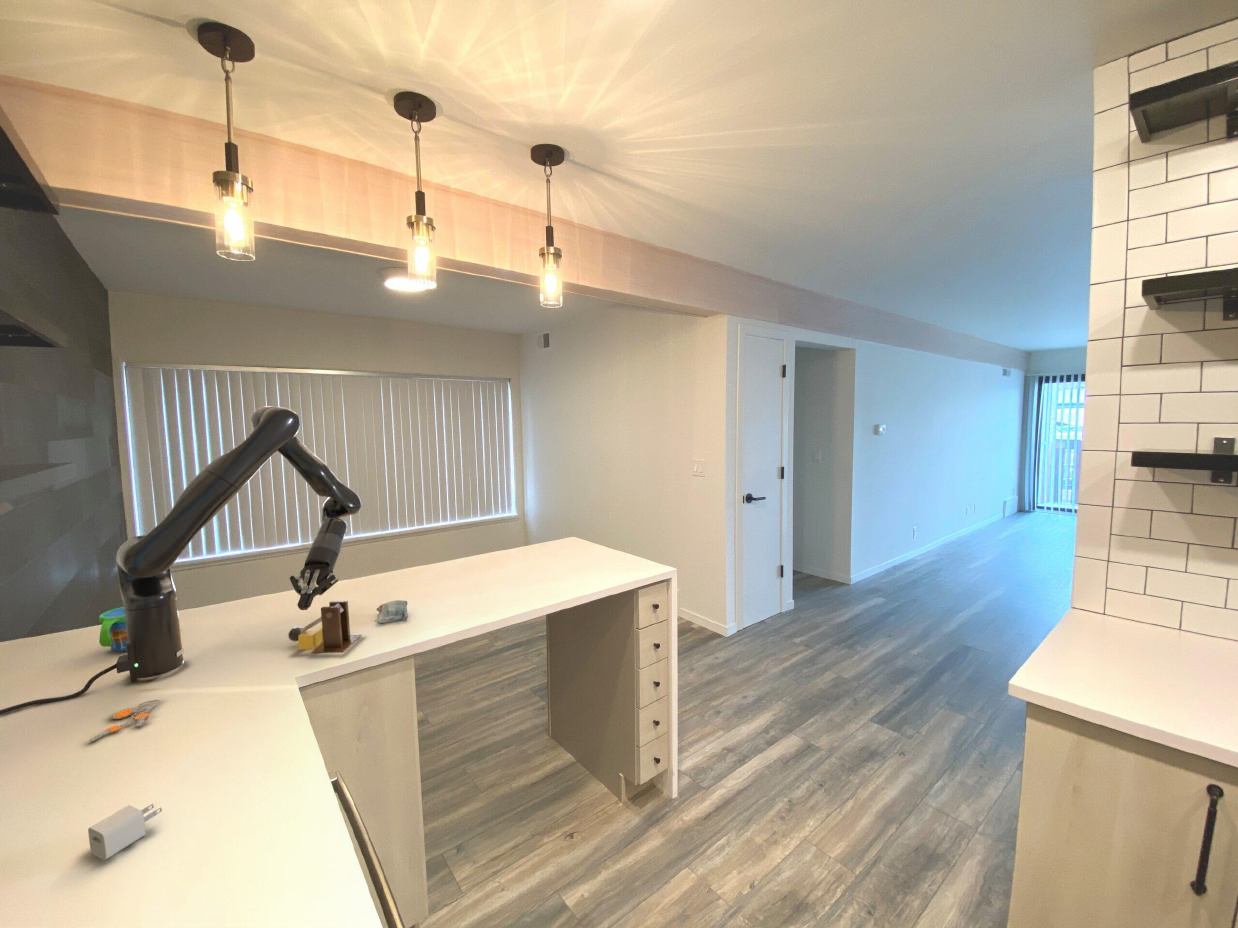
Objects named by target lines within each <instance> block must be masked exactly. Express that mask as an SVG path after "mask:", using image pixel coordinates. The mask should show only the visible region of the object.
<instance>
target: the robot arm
mask: <svg viewBox="0 0 1238 928" xmlns="http://www.w3.org/2000/svg"><path fill="white" fill-rule="evenodd" d="M250 423H251V427H252V429H253V431H252V432H251V433H250V434H249V435H248V436H247V437H246V439H245V440H244V441H242V442H241V443H239V444H238V445H236V446H235V447H234V448H232V449H229V451H226V452H225V453H223V454H222V455H220V456H219V457H217V458H215V459H214V460H213V461H211V462H210V463H209V464H207V465H206V466H205V467H204V468H203V469H202V470H201V471H200V472H199V473H198V474H197V475H196V476H195V477H194V478H193V479H192V480H191V481H190V482H189V483H188V484H187V486H186V487H185V488H184V489H183V491H182V492H181V494H180V495H179V496H178V499H177V500H176V502H175V503H174V505H173V507H172V508H171V510H170V511H169V513H168V514H167V515H166V516H165V517H164V518H163V520H161V522H159V523H158V524H157V525H156V526H154V528H153V529H152V530H150V531H149V532H148V533H146V534H145V535H137V536H133V537H131V538H129V539H128V540H127V539H126V541H124V543H122V544H121V545H120V547H119V548H118V550H117V552H116V556H115V557H116V558H115V562H116V569H117V576H118V584H119V592H120V596H121V600H122V604H123V607H124V613H125V621H126V630H127V638H128V641H127V644H126V646H127V651H126V653H127V654H121V655H118V658H117V660H116V663H115V664H112V665H111V666H109V667H107V668H104V669H102V670H101V671H99V672H98V673H96V674H95V675H94V676H92V677H91V678H90V679H89V680H88V681H87V682H86V684H85V685H84V687H83V688H82V689H81V690H78V691H77V692H74V693H71V694H69V695H65V696H57V697H49V698H40V699H35V700H34V699H33V700H30V701H26V702H22V703H19V704H16V705H13V706H9V707H6V708H5V707H4V708H3V709H0V716H1V715H4V714H7V713H11V712H14V711H17V710H20V709H23V708H27V707H31V706H36V705H41V704H49V703H57V702H62V701H66V700H67V701H68V700H71V699H75V698H77V697H78V698H79V697H80V696H81V695H84V694H85V693H86V692H88V690H89V689H90V688H91V686H92V685H93V683H94V682H95V681H97V680H98V679H99V678H100V677H103V676H104V675H105V674H107V673H109V672H112V671H113V670H116V674H121V673H126V672H128V673H129V681H130V684H133V683H138V682H141V683H142V682H150V681H154V680H157V679H159V678H161V677H162V676H164V675H166V674H168V673H171V672H173V671H175V670H178V668H180V667H182V666H183V665H184V663H185V661H184V656H183V653H185V649H184V647H183V646H182V645H183V644H182V635H181V627H180V617H179V609H178V607H179V606H178V598H177V589H176V586H175V584H174V581H173V576H172V570H171V567H172V566H173V565H174V564H175V562H176V561H177V560H178V558H179V557H180V556H181V554H182V553H183V552H184V550H185V549H186V548H187V546H188V545H189V544H190V543H191V541H192V540H193V539H194V538H195V536H196V535H197V534H198V533H199V532H200V531H201V530H202V529H203V528H205V526H206V525H207V524H208V523H210V521H212V520H213V519H214V518H215V517H216V515H218V513H220V512H221V510H223V509H224V507H225V506H227V505H228V504H229V503H230V502H231V500H232V499H234V497H235V496H237V494H238V493H239V492H240V491H241V489H243V488H244V487H245V486H246V484H247V483H248V482H249V481H250V480H251V479H252V478H253V477H254V476H255V475H256V473H257V472H258V471H259V470H260V469H261V468H262V467H263V465H264V464H265V463H266V462H267V461H268V460H269V459H270V458H271V457H273V456H274V455H275V454H276V453H277V452H278V453H280V455H281V456H282V457H283V458H285V460H287V462H288V463H289V464H290V465H291V466H292V467H293V468H294V470H295V471H296V472H297V473H298V474H299V475H300V476H301V478H302V479H303V480H304V481H305V482H306V484H307V485H308V486H309V487H310V488H311V489H312V491H313V492H314V493H315V494H316V495H317V496H318V497H321V498H327V499H326V500H325V501H324V503H323V505H322V510H321V523H320V527H319V529H318V532H317V534H316V536H315V538H314V540H313V541H312V544H311V546H310V549H309V551H308V554H307V556H306V558H305V560H304V565H303V568H302V569H300V571H299V573H298V574H297V575H290V576H289V581H290V583H291V585H292V587H293V589H294V592H295V593H296V594H298V596H299V599H298V601H297V605H296V606H297V607H298V609H299V610H300V611H308V610H309V608H310V607H311V606H312V604H313V601H314V598H315V597H316V596H322V595H323V594H325V593H326V592H327V591H328V590H330V589H331V588H332V587H333V586H334V585H335V584H337V583H338V582H339V578H338V577H337V576H336V575H335V574H334V569H335V566H336V564H337V561H338V558H339V555H340V553H341V550H342V546H343V542H344V539H345V536H346V534H347V530H348V523H347V522H346V521H345V520H343V519H342V518H345V517H350V516H354V515H356V514H358V513H359V512H360V511H361V509H362V500H361V498H360V496H359V495H358V494H357V493H356V492H355V491H354V490H353V489H351V488H350V487H349V486H347V485H346V484H344V483H343V482H342V481H340V480H339V479H338V478H337V476H336V475H335V473H333V471H332V470H331V469H330V468H329V467H328V465H327V464H326V463H325V462H324V461H323V460H322V459H320V457H318V456H317V455H316V454H315V453H314V452H313V451H311V450H310V449H309V447H307V446H306V445H305V444H304V443H303V442H302V441H301V439H299V438H298V436H297V434H298V432H299V430H300V427H301V419H300V417H299V414H297V412H295V411H294V410H293V409H291V408H287V407H283V406H273V405H267V406H262V407H259V408H257V409H256V410H254V412H253V413H252V415H251V420H250ZM301 583H302V585H301Z"/></svg>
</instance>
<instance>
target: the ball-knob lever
mask: <svg viewBox="0 0 1238 928" xmlns="http://www.w3.org/2000/svg"><path fill="white" fill-rule="evenodd" d="M335 606H340V613H341V612H343V611H344V610H343V608H342V607H341V605H340V604H339V603H338V604H336V605H335ZM320 623H322V618H321V616H320V617H318V618H317V619H315V620H314V621H312V622H310V623H309V624H307V625H305V626H304V627H301V626H295V627H293V628H290V630H289V632H288V634H287V635H288V636H287V637H288V640H290V641H292V642H299V640H298V636H299V635H300V634H302V633H303V632H305V631H306V630H308V629H310V628H314V627H315V626H317V625H318V624H320Z"/></svg>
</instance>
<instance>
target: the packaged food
mask: <svg viewBox="0 0 1238 928" xmlns="http://www.w3.org/2000/svg"><path fill="white" fill-rule="evenodd" d="M407 606H408V601H407V600H403V599H402V600H399V599H397V600H392V601H388V602H385V603H382V604H380V605H379V606H378V607H376V611H377V612H378V616H377V617H376V619H375V620H374V622H375V623H379V624H386V623H392V622H397V621H398V622H399V621H405V620H407V618H408V607H407Z"/></svg>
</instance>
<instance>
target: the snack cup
mask: <svg viewBox="0 0 1238 928" xmlns="http://www.w3.org/2000/svg"><path fill="white" fill-rule="evenodd" d="M98 621H99V622H100V624H101V626H100V631H99V641H98V642H99V645H100V646H101V647H106V648H107V647H110V650H111V651H113V652H116V653H122V652H127V646H126V644H127V641H128V638H127V630H126V621H125V613H124V606H121V607H116V608H113V609H110V610H107V611H104V612H103V613H101V614H100V615H99V616H98Z"/></svg>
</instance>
